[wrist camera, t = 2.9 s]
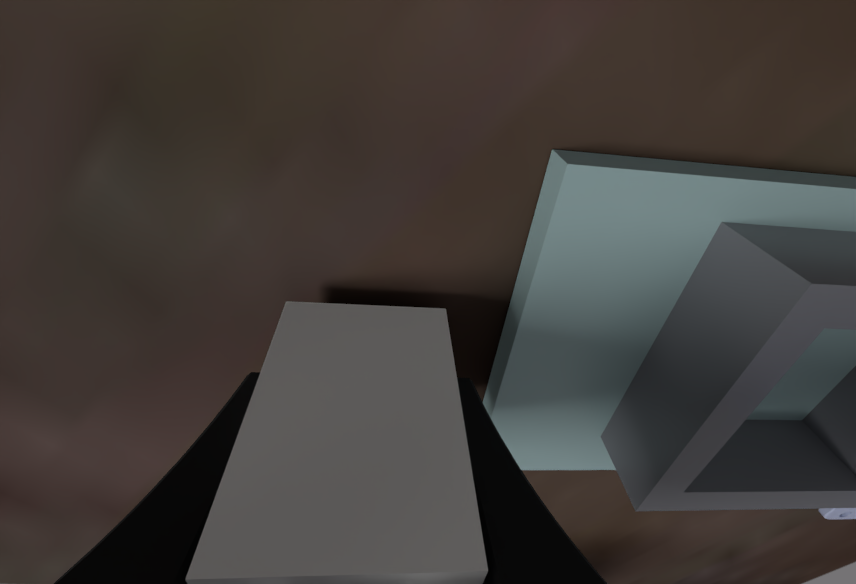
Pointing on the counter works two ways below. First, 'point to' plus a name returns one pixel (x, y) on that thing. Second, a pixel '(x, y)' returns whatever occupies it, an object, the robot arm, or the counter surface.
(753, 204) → the socket
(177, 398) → the counter surface
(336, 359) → the plug
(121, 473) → the counter surface
